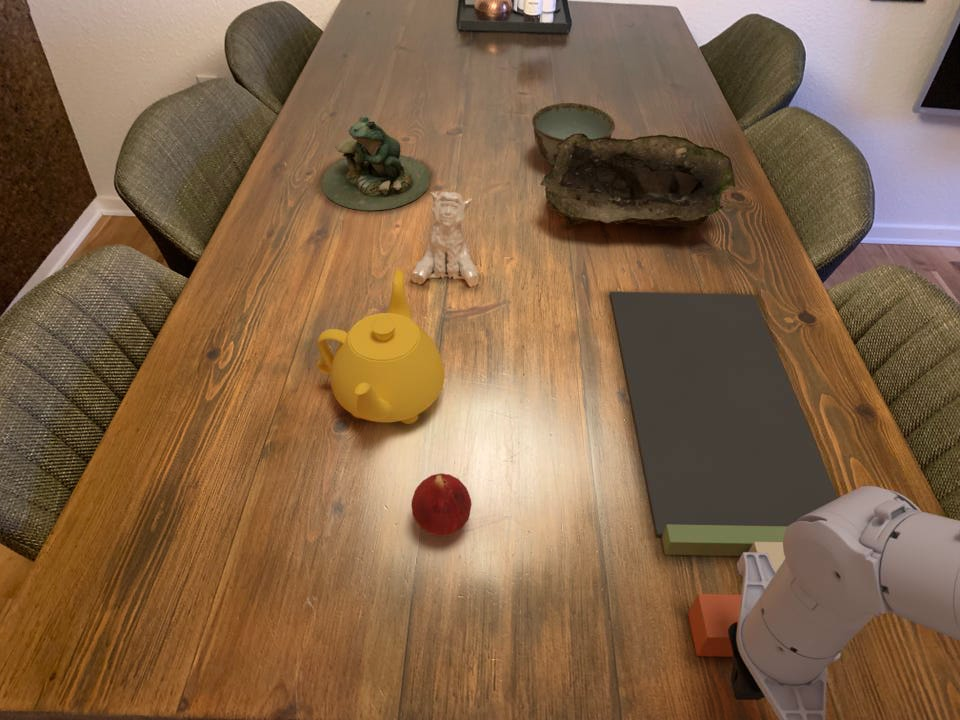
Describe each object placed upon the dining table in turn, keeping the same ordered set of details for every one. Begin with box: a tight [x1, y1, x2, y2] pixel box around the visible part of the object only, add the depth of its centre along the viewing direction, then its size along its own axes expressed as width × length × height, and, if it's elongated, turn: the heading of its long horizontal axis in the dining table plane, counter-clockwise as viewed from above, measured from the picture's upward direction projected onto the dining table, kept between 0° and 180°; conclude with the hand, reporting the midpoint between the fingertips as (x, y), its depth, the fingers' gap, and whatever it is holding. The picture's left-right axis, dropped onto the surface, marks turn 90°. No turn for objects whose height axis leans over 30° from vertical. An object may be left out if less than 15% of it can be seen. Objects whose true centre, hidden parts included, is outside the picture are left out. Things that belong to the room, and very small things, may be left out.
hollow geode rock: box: [539, 133, 737, 229], centre depth 108 cm, size 28×13×15 cm
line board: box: [609, 291, 839, 557], centre depth 84 cm, size 40×20×2 cm, turn 0°
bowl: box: [531, 102, 616, 168], centre depth 120 cm, size 14×13×8 cm
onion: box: [410, 473, 472, 537], centre depth 69 cm, size 6×6×8 cm
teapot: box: [316, 268, 445, 425], centre depth 80 cm, size 20×15×12 cm
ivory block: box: [749, 542, 785, 572], centre depth 67 cm, size 4×4×4 cm
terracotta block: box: [687, 593, 741, 658], centre depth 63 cm, size 4×4×4 cm
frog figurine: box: [320, 115, 431, 211], centre depth 114 cm, size 18×18×12 cm
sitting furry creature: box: [410, 191, 480, 288], centre depth 98 cm, size 10×9×12 cm
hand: (745, 691), depth 57 cm, fingers closed
